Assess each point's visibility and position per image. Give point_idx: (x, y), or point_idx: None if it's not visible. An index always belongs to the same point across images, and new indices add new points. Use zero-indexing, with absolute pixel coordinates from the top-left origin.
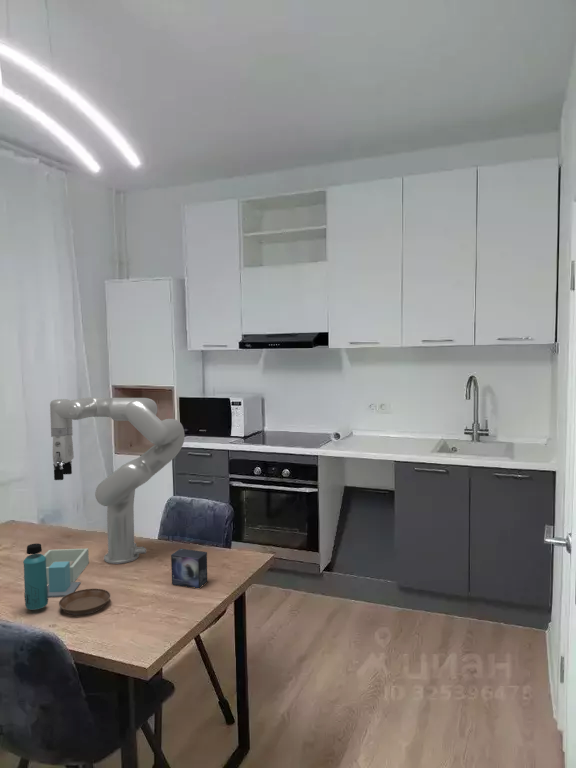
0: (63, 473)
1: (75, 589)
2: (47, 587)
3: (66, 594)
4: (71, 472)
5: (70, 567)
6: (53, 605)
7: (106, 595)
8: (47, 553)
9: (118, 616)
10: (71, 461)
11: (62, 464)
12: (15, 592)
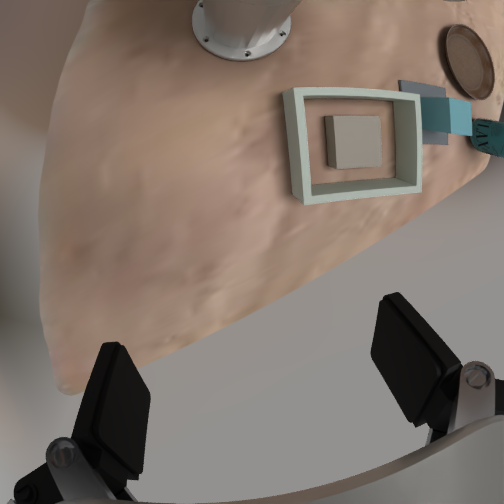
0: (148, 397)
1: (426, 84)
2: (490, 122)
3: (444, 96)
4: (109, 349)
5: (419, 99)
6: None
7: (452, 29)
8: (333, 195)
9: (476, 20)
10: (48, 455)
11: (474, 419)
12: (424, 196)
